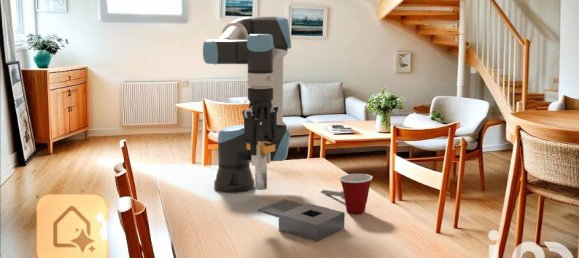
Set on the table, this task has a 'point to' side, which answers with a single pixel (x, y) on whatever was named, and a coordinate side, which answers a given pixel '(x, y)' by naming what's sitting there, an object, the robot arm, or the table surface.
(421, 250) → the table surface
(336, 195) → the caliper
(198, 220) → the table surface
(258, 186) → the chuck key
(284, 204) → the key mat
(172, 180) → the table surface
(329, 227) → the block
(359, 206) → the plastic cup
